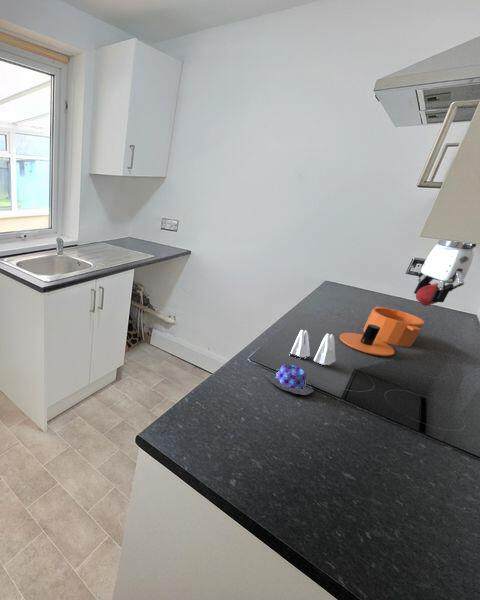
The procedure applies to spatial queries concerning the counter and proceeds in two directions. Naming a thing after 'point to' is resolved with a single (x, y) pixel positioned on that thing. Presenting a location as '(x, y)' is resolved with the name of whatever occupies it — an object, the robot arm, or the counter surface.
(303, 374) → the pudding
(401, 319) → the pot
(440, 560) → the counter surface
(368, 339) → the pot lid
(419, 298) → the onion
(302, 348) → the shaker set
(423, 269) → the robot arm
